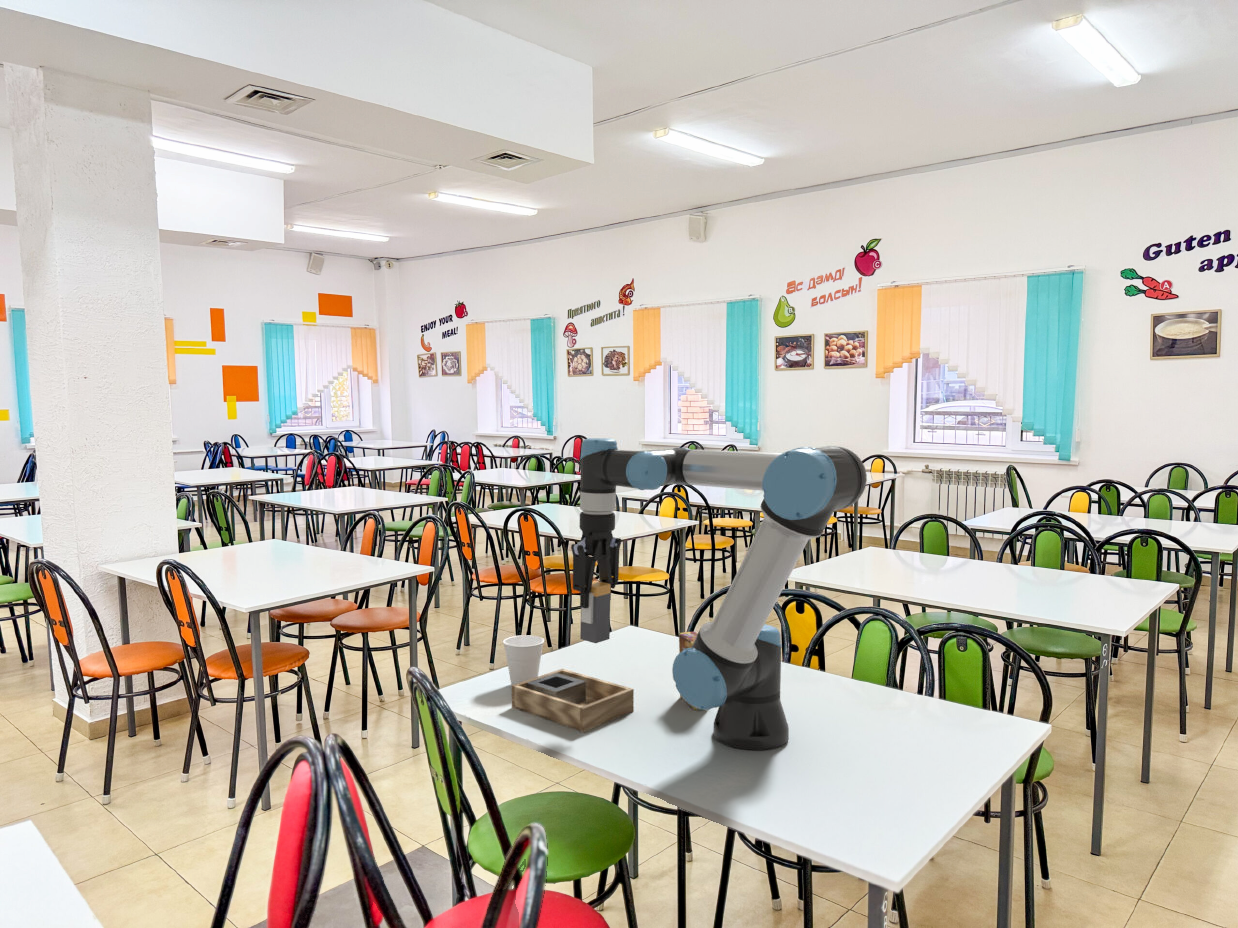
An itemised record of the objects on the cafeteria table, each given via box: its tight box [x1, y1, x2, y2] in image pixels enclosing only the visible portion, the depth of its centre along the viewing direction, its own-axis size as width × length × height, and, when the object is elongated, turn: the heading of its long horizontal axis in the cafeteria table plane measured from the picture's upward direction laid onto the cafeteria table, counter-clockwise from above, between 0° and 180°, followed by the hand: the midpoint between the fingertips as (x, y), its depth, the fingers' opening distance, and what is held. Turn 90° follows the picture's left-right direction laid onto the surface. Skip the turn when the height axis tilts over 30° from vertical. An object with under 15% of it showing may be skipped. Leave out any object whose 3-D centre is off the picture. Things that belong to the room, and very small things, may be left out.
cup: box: [502, 634, 545, 686], centre depth 204 cm, size 10×10×11 cm
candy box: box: [678, 631, 700, 711], centre depth 191 cm, size 9×4×15 cm, turn 17°
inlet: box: [527, 673, 586, 704], centre depth 191 cm, size 9×9×4 cm
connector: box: [579, 580, 612, 644], centre depth 181 cm, size 4×4×12 cm
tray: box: [511, 668, 635, 733], centre depth 188 cm, size 22×16×5 cm
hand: (595, 619), depth 181 cm, fingers closed on connector, 4 cm apart
